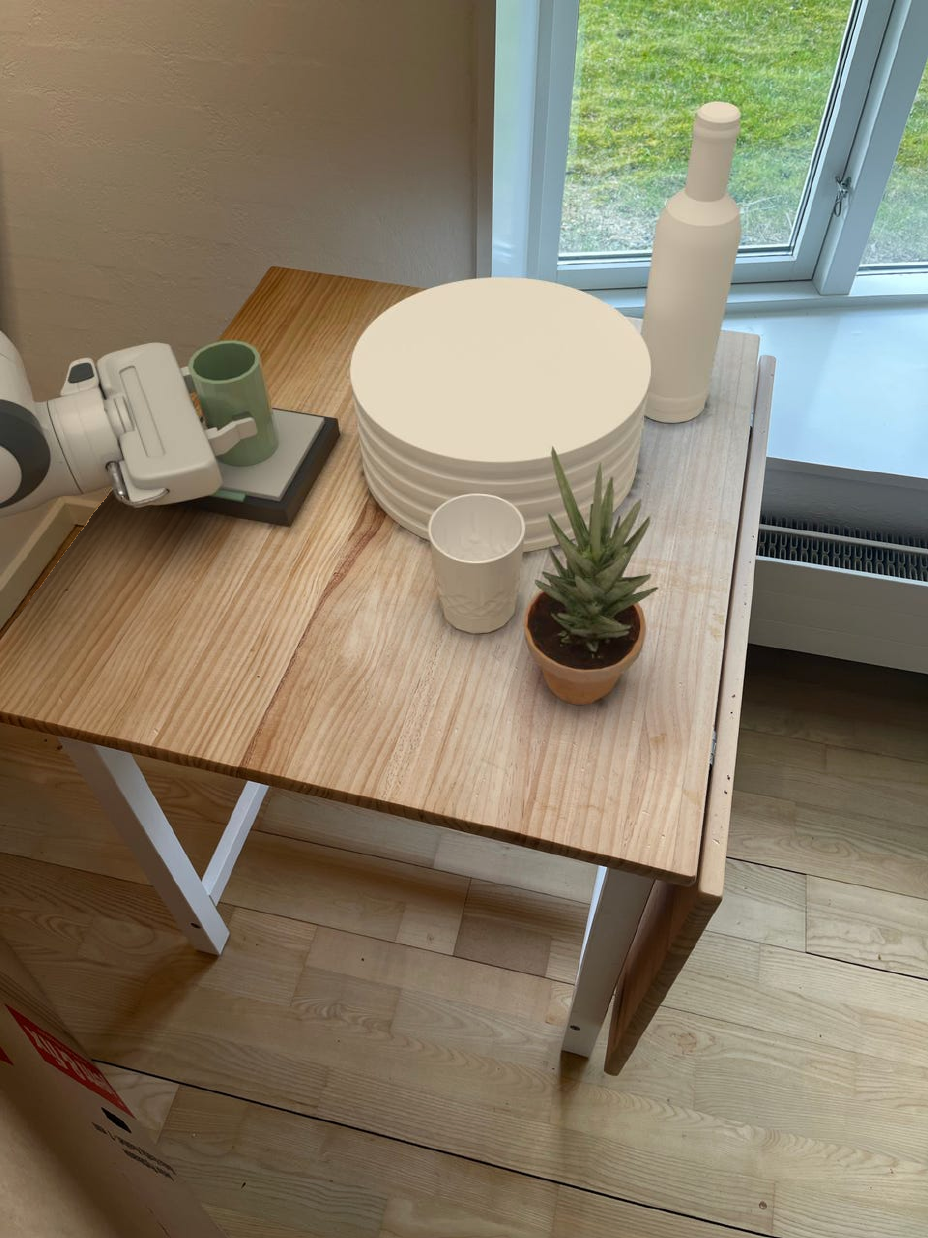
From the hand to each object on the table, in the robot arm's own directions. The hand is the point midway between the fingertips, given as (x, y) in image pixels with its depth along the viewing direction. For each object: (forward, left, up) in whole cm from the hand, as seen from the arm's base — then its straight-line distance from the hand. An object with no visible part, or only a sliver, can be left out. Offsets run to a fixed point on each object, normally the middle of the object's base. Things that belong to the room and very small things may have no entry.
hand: (243, 397), depth 91 cm
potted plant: (+15, -38, -9) cm, 42 cm away
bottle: (+42, -11, -9) cm, 45 cm away
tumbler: (-1, 0, -6) cm, 6 cm away
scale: (-1, 0, -8) cm, 8 cm away
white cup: (+11, -27, -9) cm, 31 cm away
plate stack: (+22, -10, -9) cm, 26 cm away
